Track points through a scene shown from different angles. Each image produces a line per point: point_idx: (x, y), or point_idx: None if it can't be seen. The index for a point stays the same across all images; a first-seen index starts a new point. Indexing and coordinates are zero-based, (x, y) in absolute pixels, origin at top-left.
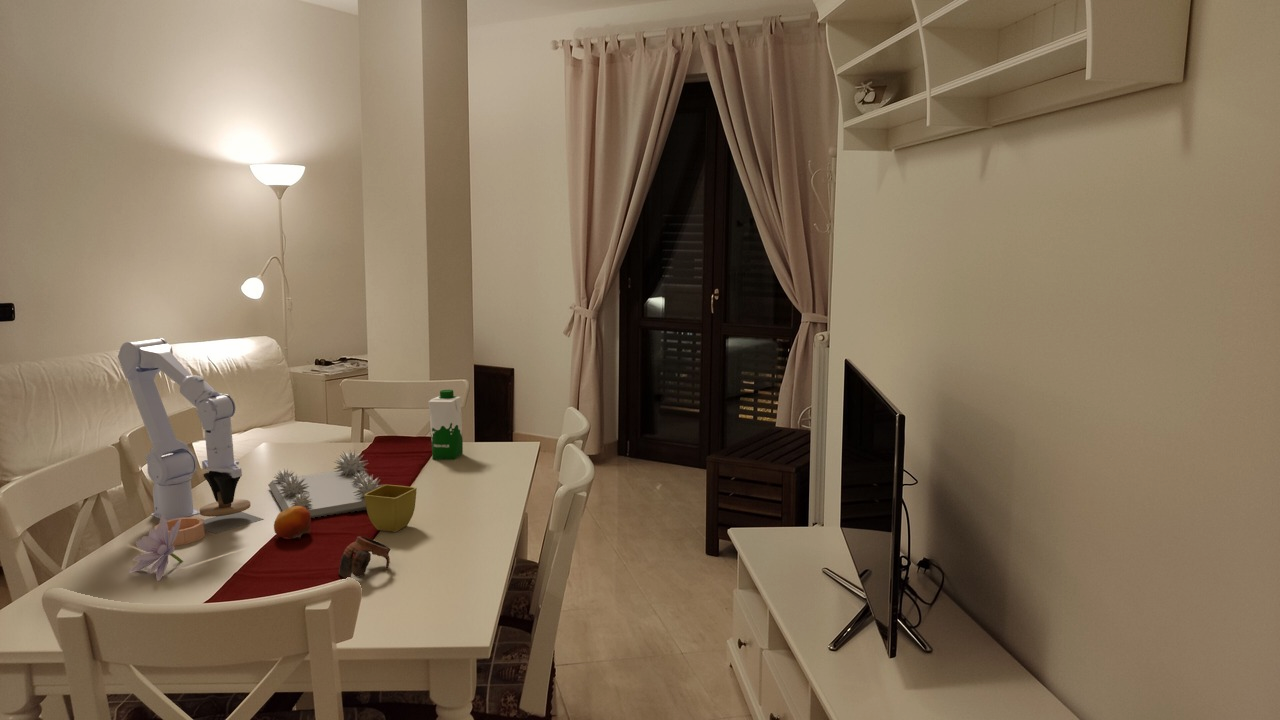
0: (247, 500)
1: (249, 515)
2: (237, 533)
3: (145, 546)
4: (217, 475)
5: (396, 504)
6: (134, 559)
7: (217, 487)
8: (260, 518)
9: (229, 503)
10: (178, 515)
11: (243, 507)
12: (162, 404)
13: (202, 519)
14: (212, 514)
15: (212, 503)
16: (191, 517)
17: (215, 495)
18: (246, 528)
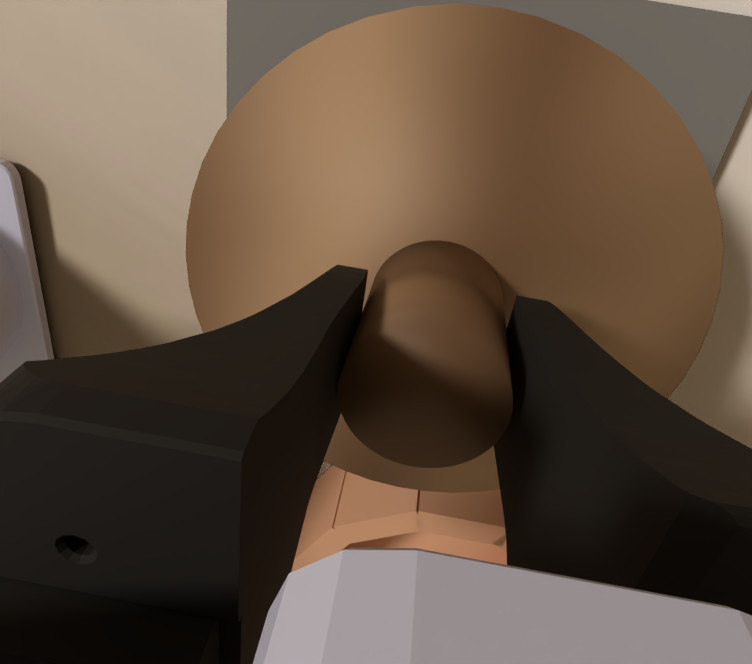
0: (524, 20)
1: (509, 5)
2: (742, 365)
3: None
4: (262, 623)
5: None
6: None
7: (311, 451)
8: (722, 24)
9: (504, 311)
10: (12, 334)
11: (719, 273)
12: None
13: (497, 528)
14: None
15: (206, 278)
16: (367, 522)
17: (337, 417)
18: (736, 259)
